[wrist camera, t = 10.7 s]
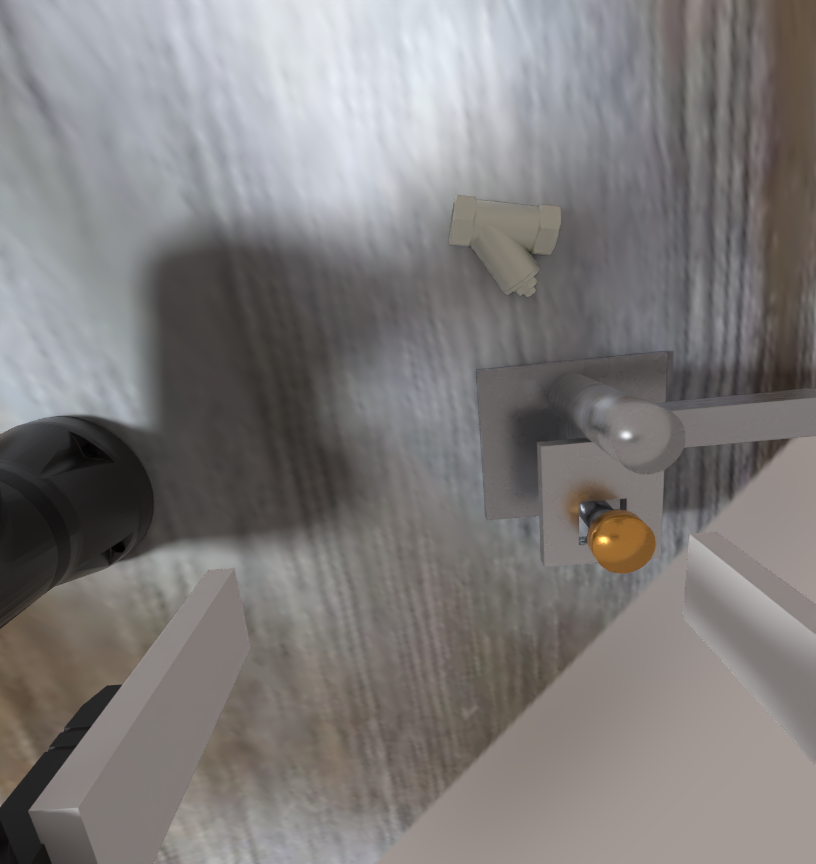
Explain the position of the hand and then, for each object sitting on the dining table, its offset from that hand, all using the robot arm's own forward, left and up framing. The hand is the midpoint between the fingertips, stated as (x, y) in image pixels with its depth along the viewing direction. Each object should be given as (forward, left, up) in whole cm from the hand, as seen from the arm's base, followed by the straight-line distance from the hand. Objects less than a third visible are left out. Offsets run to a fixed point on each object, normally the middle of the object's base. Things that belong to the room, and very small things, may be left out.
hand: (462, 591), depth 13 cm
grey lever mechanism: (+15, -5, -29) cm, 33 cm away
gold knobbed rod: (+12, -9, -28) cm, 32 cm away
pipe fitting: (+6, +12, -30) cm, 32 cm away
